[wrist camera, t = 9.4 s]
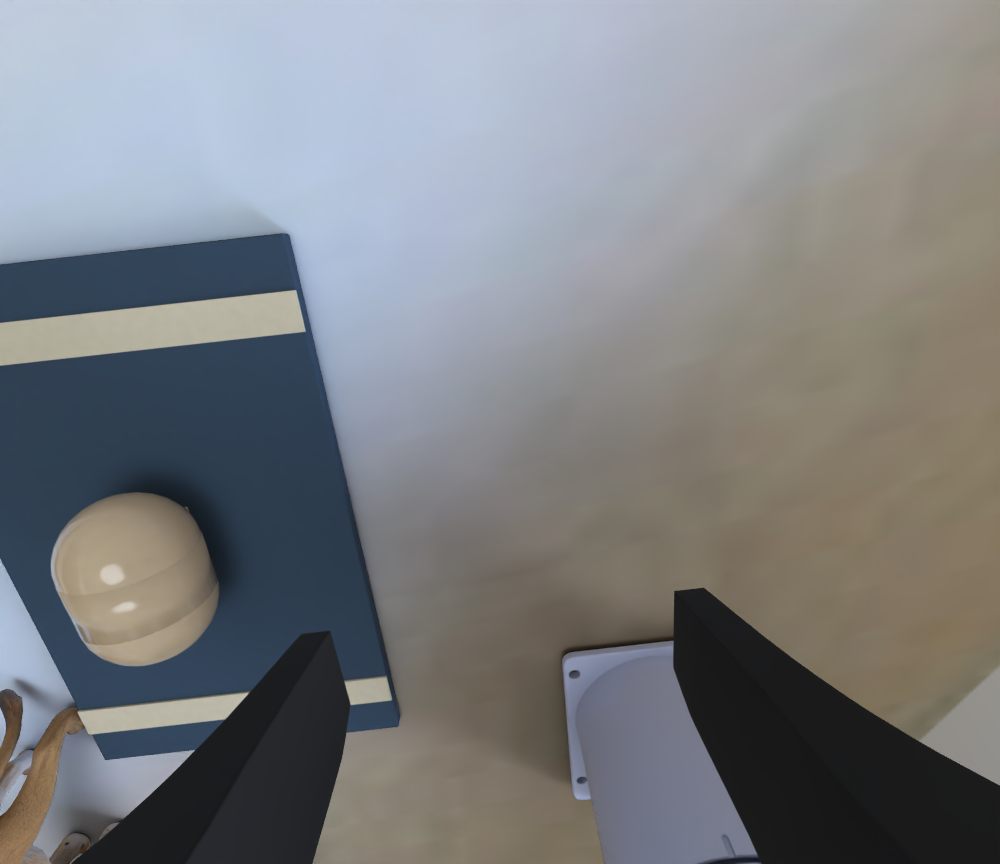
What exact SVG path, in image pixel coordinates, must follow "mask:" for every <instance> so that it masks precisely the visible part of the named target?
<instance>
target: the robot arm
mask: <svg viewBox="0 0 1000 864" xmlns="http://www.w3.org/2000/svg"><path fill="white" fill-rule="evenodd" d="M562 669H563V682H564V694H565V707H566V720H567V732H568V745H569V757H570V770H571V783H572V791H573V795H574V797H575V798H576V799H579V800H586V799H591V801H592V806H593V810H594V815H595V820H596V825H597V830H598V835H599V840H600V845H601V850H602V855H603V859H604V864H1000V785H997V784H996V783H994V782H992V781H990V780H988V779H986V778H984V777H982V776H981V775H979V774H977V773H975V772H973V771H971V770H970V769H968V768H966V767H964V766H962V765H960V764H958V763H957V762H955V761H953V760H951V759H949V758H947V757H945V756H944V755H942V754H940V753H938V752H936V751H935V750H933V749H931V748H929V747H927V746H926V745H924V744H922V743H921V742H919V741H917V740H916V739H914V738H912V737H910V736H909V735H907V734H906V733H904V732H902V731H901V730H899V729H897V728H896V727H894V726H892V725H891V724H889V723H888V722H886V721H884V720H883V719H881V718H879V717H878V716H876V715H874V714H873V713H871V712H870V711H868V710H866V709H865V708H863V707H862V706H860V705H859V704H857V703H856V702H854V701H853V700H851V699H850V698H848V697H847V696H845V695H844V694H842V693H841V692H839V691H838V690H836V689H835V688H834V687H832V686H831V685H829V684H828V683H826V682H825V681H823V680H822V679H820V678H819V677H818V676H816V675H815V674H813V673H812V672H811V671H809V670H808V669H806V668H805V667H804V666H802V665H801V664H800V663H798V662H797V661H795V660H794V659H793V658H791V657H790V656H789V655H787V654H786V653H785V652H784V651H782V650H781V649H780V648H778V647H777V646H776V645H774V644H773V643H772V642H770V641H769V640H768V639H767V638H765V637H764V636H763V635H761V634H760V633H759V632H758V631H756V630H755V629H754V628H753V627H751V626H750V625H749V624H748V623H746V622H745V621H744V620H743V619H742V618H740V617H739V616H738V615H737V614H735V613H734V612H733V611H732V610H730V609H729V608H728V607H727V606H726V605H724V604H723V603H722V602H721V601H719V600H718V599H717V598H716V597H714V596H713V595H712V594H711V593H710V592H708V591H707V590H706V589H704V588H698V589H689V590H681V591H675V593H674V641H666V642H657V643H648V644H639V645H631V646H622V647H613V648H604V649H595V650H586V651H578V652H571V653H568V654H566V655H565V656H564V657H563V658H562ZM573 670H577V671H576V672H571V671H573ZM350 705H351V704H350V700H349V696H348V693H347V689H346V685H345V682H344V678H343V675H342V671H341V667H340V664H339V660H338V657H337V653H336V649H335V646H334V642H333V638H332V635H331V631H322V632H314V633H305V634H301V635H300V636H299V637H298V638H297V639H296V640H295V641H294V642H293V644H292V645H291V646H290V647H289V648H288V649H287V650H286V651H285V653H284V654H283V655H282V656H281V657H280V658H279V660H278V661H277V662H276V663H275V664H274V665H273V666H272V668H271V669H270V670H269V671H268V672H267V673H266V674H265V676H264V677H263V678H262V679H261V680H260V681H259V682H258V683H257V685H256V686H255V687H254V688H253V689H252V690H251V691H250V692H249V694H248V695H247V696H246V697H245V698H244V699H243V700H242V701H241V703H240V704H239V705H238V706H237V707H236V708H235V709H234V710H233V711H232V712H231V714H230V715H229V716H228V717H227V718H226V719H225V720H224V721H223V722H222V723H221V724H220V725H219V726H218V727H217V728H216V730H215V731H214V732H213V733H212V734H211V735H210V736H209V737H208V738H207V739H206V740H205V741H204V742H203V743H202V744H201V745H200V746H199V747H198V748H197V749H196V750H195V751H194V752H193V753H192V754H191V755H190V756H189V757H188V758H187V759H186V760H185V761H184V763H183V764H182V765H181V766H180V767H179V768H178V769H177V770H176V771H175V772H174V773H173V774H172V775H171V776H169V777H168V778H167V779H166V780H165V781H164V782H163V783H162V784H161V785H160V786H159V787H158V788H157V789H156V790H155V791H154V792H153V793H152V794H151V795H150V796H148V797H147V798H146V799H145V800H144V801H143V802H142V803H141V804H140V805H139V806H137V807H136V808H135V809H134V810H133V811H132V812H131V813H130V814H129V815H127V816H126V817H125V818H124V819H123V820H122V821H121V822H120V823H119V824H118V825H116V826H115V827H114V828H113V829H112V830H111V831H110V832H108V833H107V834H106V835H105V836H104V837H103V838H101V839H100V840H99V841H98V842H97V843H95V844H94V845H93V846H92V847H91V848H89V849H88V850H87V851H86V852H84V853H83V854H82V855H81V856H80V857H78V858H77V859H76V860H75V861H74V862H72V863H71V864H312V863H313V859H314V856H315V852H316V849H317V845H318V842H319V838H320V835H321V831H322V828H323V824H324V821H325V817H326V814H327V810H328V807H329V803H330V799H331V796H332V792H333V789H334V785H335V781H336V778H337V774H338V771H339V767H340V763H341V759H342V755H343V749H344V743H345V738H346V732H347V725H348V719H349V712H350Z"/></svg>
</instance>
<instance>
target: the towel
mask: <svg viewBox="0 0 1000 864" xmlns="http://www.w3.org/2000/svg"><path fill="white" fill-rule="evenodd" d="M126 492H148V493H153V494H158V495H162V496H165V497H167V498H169V499H172V500H174V501H176V502H178V503H179V504H180V505H182V506H183V507H188V510H189V512H190V514H191V515H192V516H193V517H194V518H195V520H196V521H197V523H198V525H199V527H200V529H201V532H202V534H203V537H204V540H205V543H206V546H207V549H208V551H209V554H210V557H211V560H212V563H213V566H214V568H215V571H216V574H217V578H218V582H219V589H220V594H219V603H218V607H217V610H216V613H215V616H214V618H213V620H212V622H211V623H210V625H209V627H208V628H207V630H206V631H205V633H204V634H203V635H202V636H201V637H200V638H199V639H198V640H197V641H196V642H195V643H194V644H193V645H192V646H191V647H189V648H188V649H187V650H185V651H184V652H182V653H181V654H179V655H177V656H175V657H173V658H171V659H169V660H166V661H164V662H160V663H157V664H152V665H146V666H137V667H131V666H123V665H117V664H113V663H111V662H108V661H106V660H103V659H101V658H99V657H97V656H96V655H95V654H94V653H92V652H91V651H90V650H89V649H88V648H87V647H86V646H85V644H84V643H83V641H82V640H81V638H80V637H79V635H78V633H77V631H76V629H75V627H74V625H73V623H72V621H71V619H70V617H69V615H68V613H67V611H66V609H65V607H64V605H63V603H62V601H61V599H60V596H59V594H58V592H57V590H56V588H55V586H54V583H53V580H52V576H51V563H50V558H51V554H52V550H53V546H54V543H55V541H56V539H57V538H58V536H59V534H60V532H61V530H62V529H63V528H64V526H65V525H66V524H67V523H68V522H69V521H70V520H71V518H72V517H73V516H75V515H76V514H77V513H78V512H80V511H81V510H83V509H84V508H85V507H87V506H88V505H90V504H92V503H94V502H96V501H98V500H100V499H103V498H106V497H109V496H112V495H116V494H120V493H126ZM0 559H1V561H2V563H3V565H4V566H5V568H6V570H7V572H8V574H9V576H10V578H11V580H12V582H13V584H14V586H15V588H16V590H17V591H18V593H19V595H20V597H21V599H22V601H23V603H24V605H25V607H26V609H27V611H28V613H29V614H30V616H31V618H32V620H33V622H34V624H35V626H36V628H37V630H38V632H39V634H40V636H41V638H42V639H43V641H44V643H45V645H46V647H47V649H48V651H49V653H50V655H51V657H52V659H53V661H54V663H55V664H56V666H57V668H58V670H59V672H60V674H61V676H62V678H63V680H64V682H65V684H66V686H67V687H68V689H69V691H70V693H71V695H72V697H73V699H74V701H75V703H76V705H77V707H78V709H79V711H78V712H77V713H78V715H79V717H80V719H81V721H82V722H83V724H84V726H85V728H86V730H87V732H88V734H89V735H91V734H92V735H93V737H94V739H95V741H96V743H97V745H98V747H99V749H100V751H101V753H102V755H103V757H104V759H105V760H109V759H118V758H127V757H136V756H145V755H154V754H162V753H171V752H180V751H189V750H196V749H197V748H198V747H199V746H200V745H201V744H202V743H203V742H204V741H205V740H206V739H207V738H208V737H209V736H210V735H211V734H212V733H213V732H214V731H215V730H216V728H217V727H218V726H219V725H220V724H221V723H222V722H223V721H224V720H225V719H226V718H227V717H228V716H229V715H230V714H231V712H232V711H233V710H234V709H235V708H236V707H237V706H238V705H239V704H240V703H241V701H242V700H243V699H244V698H245V697H246V696H247V695H248V694H249V692H250V691H251V690H252V689H253V688H254V687H255V686H256V685H257V683H258V682H259V681H260V680H261V679H262V678H263V677H264V676H265V674H266V673H267V672H268V671H269V670H270V669H271V668H272V666H273V665H274V664H275V663H276V662H277V661H278V660H279V658H280V657H281V656H282V655H283V654H284V653H285V651H286V650H287V649H288V648H289V647H290V646H291V645H292V644H293V642H294V641H295V640H296V639H297V638H298V637H299V636H300V635H301V634H305V633H314V632H322V631H331V635H332V638H333V642H334V646H335V649H336V653H337V657H338V660H339V664H340V667H341V671H342V675H343V678H344V682H345V685H346V689H347V693H348V696H349V700H350V704H351V705H350V712H349V719H348V725H347V732H356V731H365V730H374V729H383V728H391V727H398V726H399V720H400V714H399V710H398V705H397V701H396V697H395V692H394V688H393V684H392V679H391V675H390V671H389V666H388V662H387V658H386V653H385V649H384V645H383V640H382V636H381V632H380V627H379V623H378V619H377V614H376V610H375V606H374V601H373V597H372V593H371V588H370V584H369V580H368V575H367V571H366V567H365V562H364V558H363V554H362V549H361V545H360V541H359V536H358V532H357V528H356V523H355V519H354V515H353V510H352V506H351V502H350V497H349V493H348V489H347V484H346V480H345V476H344V471H343V467H342V463H341V458H340V454H339V450H338V445H337V441H336V437H335V432H334V428H333V424H332V419H331V415H330V411H329V406H328V402H327V398H326V393H325V389H324V385H323V381H322V376H321V372H320V368H319V363H318V359H317V355H316V350H315V346H314V342H313V337H312V333H311V329H310V324H309V320H308V316H307V311H306V307H305V303H304V298H303V294H302V290H301V285H300V281H299V277H298V272H297V268H296V264H295V259H294V255H293V251H292V246H291V242H290V238H289V235H288V234H273V235H264V236H255V237H246V238H237V239H228V240H218V241H209V242H200V243H191V244H182V245H173V246H164V247H155V248H146V249H137V250H128V251H119V252H110V253H101V254H92V255H83V256H74V257H65V258H56V259H47V260H38V261H29V262H20V263H11V264H2V265H0ZM347 732H346V733H347Z"/></svg>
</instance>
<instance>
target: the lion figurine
mask: <svg viewBox="0 0 1000 864" xmlns="http://www.w3.org/2000/svg"><path fill="white" fill-rule="evenodd" d="M0 708H1V710H2V713H3V715H4V718H5V721H6V734H5V737H4V741H3V743H2V746H1V748H0V810H1V808H2V805H3V802H4V800H5V798H6V795H7V793H8V792H9V790H10V788H11V787H12V786H13V785H14V783H15V782H16V781H17V780H18V778H19V777H20V776H21V774H24V775H28V776H27V778H26V780H25V782H24V784H23V786H22V788H21V790H20V792H19V794H18V796H17V797H16V799H15V801H14V802H13V804H12V805H11V807H10V808H9V809H8V810H7V811H6V812H5V813H4V814H2V815H1V816H0V864H70V862H71V861H72V860H73V859H74V858H75V857H76V856H78V855H79V854H82V853H84V852H85V851H86V850H87V849H88V847H89V845H90V841H89V839H88V837H87V836H85V835H82V834H79V833H72V834H70V835H68V836H67V837H65V838H64V840H63V841H62V843H61V844H60V845H59V847H58V848H57V850H56V851H55V852H54V854H53V855H52V856H51V858H50V859H49V858H48V857H47V855H46V854H45V853H44V851H43V850H41V849H39V848H38V847H36V846H33V845H32V844H33V842H34V840H35V838H36V836H37V835H38V833H39V830H40V828H41V826H42V823H43V821H44V819H45V816H46V814H47V811H48V809H49V806H50V804H51V801H52V798H53V795H54V791H55V785H56V778H57V771H58V763H59V757H60V752H61V747H62V743H63V740H64V737H65V735H66V733H68V734H76V733H77V732H78V731H80V730H82V729H83V728H84V727H85V726H84V724H83V722H82V721H81V719H80V717H79V715H78V713H77V712H78V711H79V709H78V708H68V709H65V710H63V711H62V712H60V713H59V714H57V715H56V716H55V717H54V719H53V720H52V721H51V723H50V725H49V726H48V728H47V729H46V731H45V733H44V734H43V736H42V738H41V739H40V741H39V743H38V744H37V746H36V748H35V750H34V751H33V750H25V751H22V752H21V753H19V755H18V756H17V757H16V758H15V759H14V760H12V761H11V762H9V760H10V758H11V756H12V754H13V751H14V749H15V746H16V744H17V741H18V739H19V736H20V731H21V725H22V724H21V720H22V714H23V705H22V697H20V696H18V695H17V694H16V693H15V692H14V691H13V690H10V689H5V690H2V691H1V692H0ZM8 762H9V763H8ZM119 823H120V822H117V823H113V824H110V825H109V826H108V827H107V828H106V829H105V830H104V832H103V833H102V835H101V836H100V838H99V840H100V839H101V838H103V837H104V836H105V835H106V834H107V833H108V832H110V831H111V830H112V829H113V828H114V827H115V826H116V825H118V824H119ZM99 840H98V841H99ZM98 841H97V842H98Z"/></svg>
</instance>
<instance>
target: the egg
mask: <svg viewBox="0 0 1000 864" xmlns="http://www.w3.org/2000/svg"><path fill="white" fill-rule="evenodd" d="M50 563H51V576H52V580H53V583H54V586H55V588H56V590H57V592H58V594H59V596H60V599H61V601H62V603H63V605H64V607H65V609H66V611H67V613H68V615H69V617H70V619H71V621H72V623H73V625H74V627H75V629H76V631H77V633H78V635H79V637H80V638H81V640H82V641H83V643H84V644H85V646H86V647H87V648H88V649H89V650H90V651H91V652H92V653H94V654H95V655H96V656H97V657H99V658H101V659H103V660H106V661H108V662H111V663H113V664H117V665H123V666H131V667H137V666H146V665H152V664H157V663H160V662H164V661H166V660H169V659H171V658H173V657H175V656H177V655H179V654H181V653H182V652H184V651H185V650H187V649H188V648H189V647H191V646H192V645H193V644H194V643H195V642H196V641H197V640H198V639H199V638H200V637H201V636H202V635H203V634H204V633H205V631H206V630H207V628H208V627H209V625H210V623H211V622H212V620H213V618H214V616H215V613H216V610H217V607H218V603H219V594H220V589H219V582H218V578H217V574H216V571H215V568H214V566H213V563H212V560H211V557H210V554H209V551H208V549H207V546H206V543H205V540H204V537H203V534H202V532H201V529H200V527H199V525H198V523H197V521H196V520H195V518H194V517H193V516H192V515H191V514H190V512H189V510H188V507H183V506H182V505H180V504H179V503H178V502H176V501H174V500H172V499H169V498H167V497H165V496H162V495H158V494H153V493H148V492H126V493H120V494H116V495H112V496H109V497H106V498H103V499H100V500H98V501H96V502H94V503H92V504H90V505H88V506H87V507H85V508H84V509H83V510H81V511H80V512H78V513H77V514H76V515H75V516H73V517H72V518H71V520H70V521H69V522H68V523H67V524H66V525H65V526H64V528H63V529H62V530H61V532H60V534H59V536H58V538H57V539H56V541H55V543H54V546H53V550H52V554H51V558H50Z"/></svg>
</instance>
